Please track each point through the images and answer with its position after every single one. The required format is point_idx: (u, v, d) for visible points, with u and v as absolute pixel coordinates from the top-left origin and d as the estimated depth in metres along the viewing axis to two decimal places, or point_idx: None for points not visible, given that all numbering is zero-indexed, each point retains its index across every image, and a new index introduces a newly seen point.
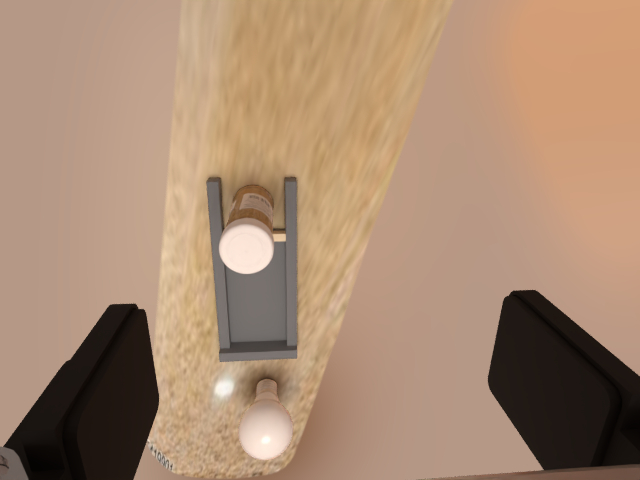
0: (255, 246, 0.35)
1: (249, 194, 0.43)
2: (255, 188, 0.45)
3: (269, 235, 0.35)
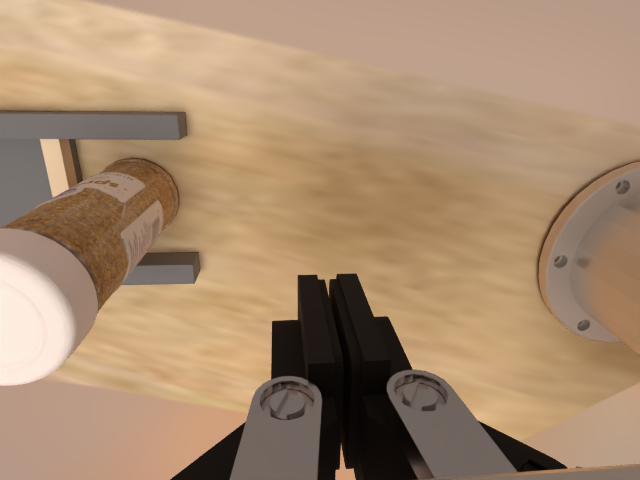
0: (7, 348, 0.12)
1: (159, 214, 0.21)
2: (172, 207, 0.23)
3: None
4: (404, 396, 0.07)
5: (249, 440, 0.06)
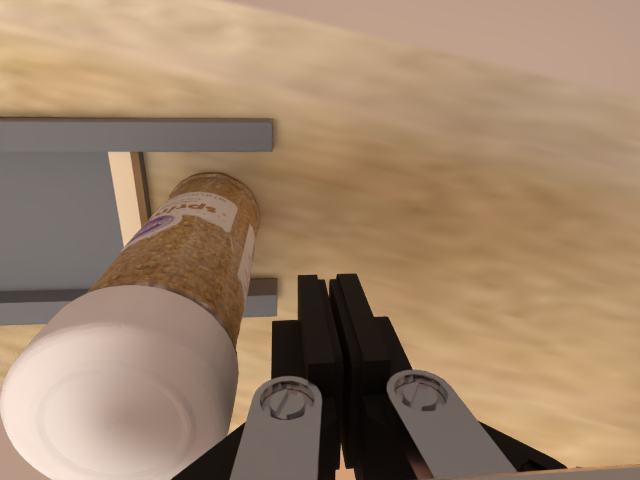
0: (139, 453, 0.09)
1: (253, 241, 0.17)
2: None
3: None
4: (404, 396, 0.07)
5: (249, 440, 0.06)
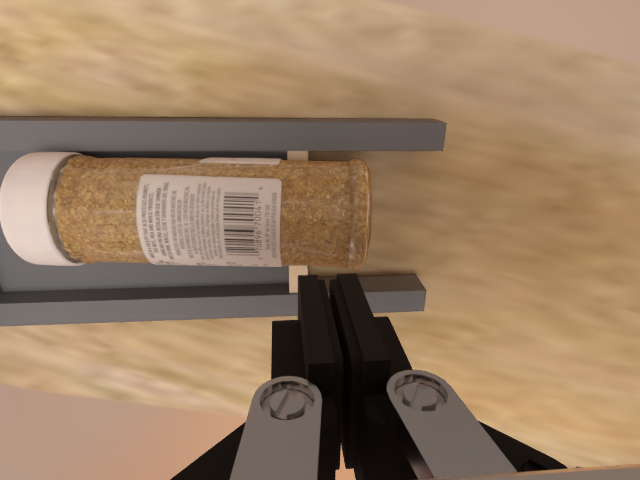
0: None
1: (263, 193, 0.15)
2: (341, 209, 0.15)
3: (19, 251, 0.16)
4: (404, 396, 0.07)
5: (249, 440, 0.06)
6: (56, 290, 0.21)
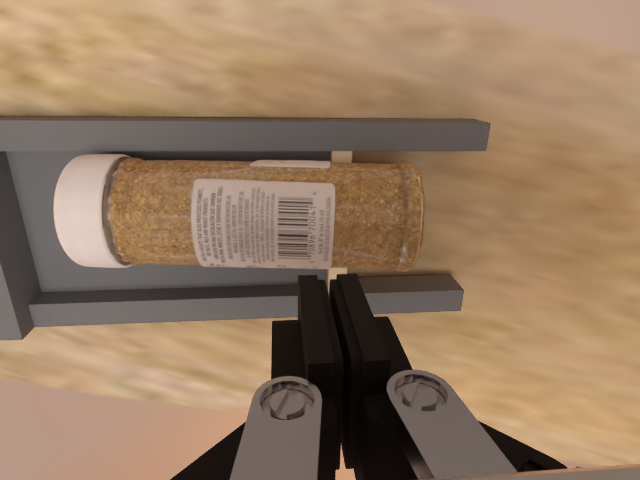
0: None
1: (317, 198, 0.15)
2: (394, 214, 0.15)
3: (73, 255, 0.16)
4: (404, 396, 0.07)
5: (249, 440, 0.06)
6: (95, 290, 0.21)
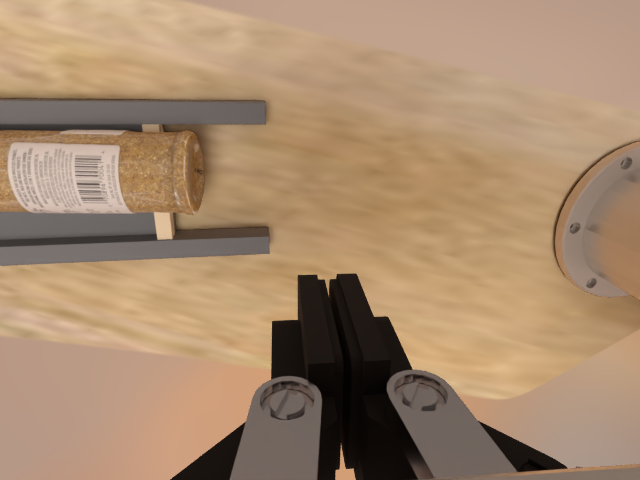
0: None
1: (105, 156, 0.20)
2: (164, 167, 0.21)
3: None
4: (404, 396, 0.07)
5: (249, 440, 0.06)
6: None
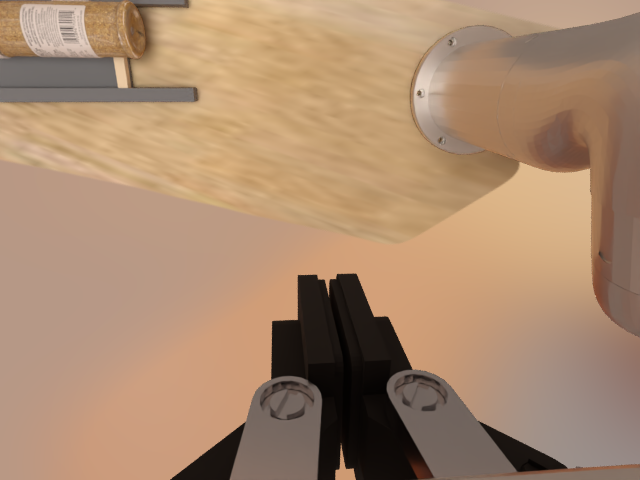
0: None
1: (76, 10, 0.34)
2: (111, 17, 0.34)
3: None
4: (404, 396, 0.07)
5: (249, 440, 0.06)
6: None
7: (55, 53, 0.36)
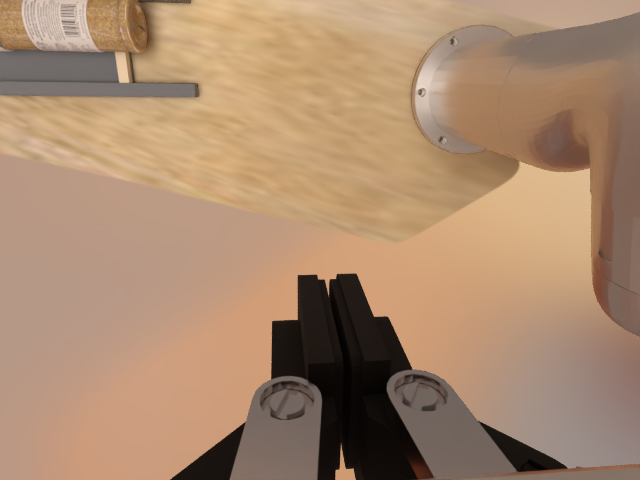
0: None
1: (78, 4, 0.34)
2: (113, 11, 0.34)
3: None
4: (404, 396, 0.07)
5: (249, 440, 0.06)
6: None
7: (57, 47, 0.36)
